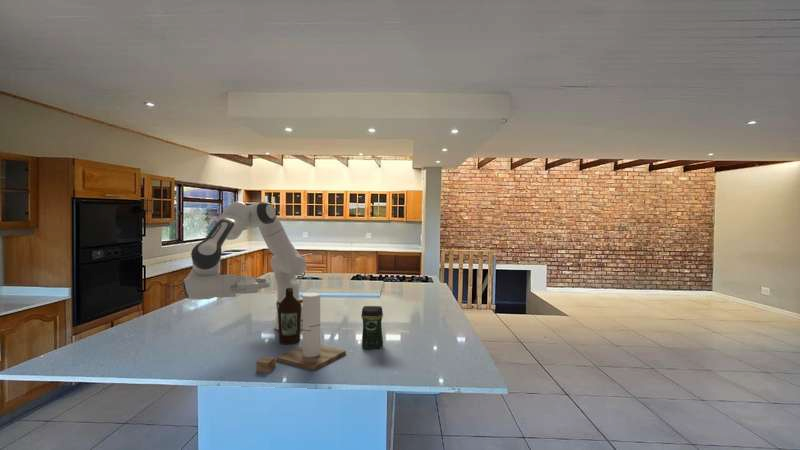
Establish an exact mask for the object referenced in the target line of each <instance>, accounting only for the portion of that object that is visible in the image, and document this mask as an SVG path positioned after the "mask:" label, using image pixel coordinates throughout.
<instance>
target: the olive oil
mask: <svg viewBox="0 0 800 450" xmlns="http://www.w3.org/2000/svg"><path fill="white" fill-rule="evenodd" d="M301 305H302V304H301ZM301 305H300V303H299V302H298V301H297V300H296V299H295V298H294V297H293V288H286V297H285V298H284V299H283V300H282V301H281V303H280V304H279V306H278V323H279V330H278V340H279V341H278V342H279V343H280V345H294V344H297V343H299V342H300V341H301V330H300V324H301Z"/></svg>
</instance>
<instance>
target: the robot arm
mask: <svg viewBox="0 0 800 450" xmlns="http://www.w3.org/2000/svg"><path fill="white" fill-rule="evenodd" d="M255 228H258V229H259V231H260V234H261V236H262V239H263V241H264V242H265V244H266V247H267V249H268V250H269V251H270V252H271V253H272V254H273V255H272V257H271V258H270V260H269V261H270V262H269V264H270V267H271V269H272V270H273V273H274V278H275V283H276V292H277V293H276V294H277V295H276V296H277V300H276V316H275V323H274V328H273V329H274V330H276V331H279V323H278V306H279V304H280V303H281V301H282V300H283V299H284V298H285V297H286V288H293V297H294V298H295V299H296V300H297V301H298V302H299V303H300V305H301V324H300V331H301V330H303V298H301V299H300V285H299V283H298V281H297V278H296V276H300V275H302V274H304V273H305V272H306V270H307V267H308V265H307V264H308V263H307V261H306V259H305V258H304V257H303V256H302V255H301V254H300V252H298V250H297V249H296V248H295V246H294V245H293V243H292V242H291V240H290V239H289V237H288V234H287V232H286V230H285V229H284V226H283V224H282V222H281V221H280V219H279V217H278V216H277V211H276V209H275V206H274V205H273V204H272V203H270V202H269V201H261V202H260V201H259V202H258V203H252V204H246V203H244V202H242V201H234V202H231V203H230V204H228V206H227V207H226V208H225V210H224V211H223V212H222V213H221V215H220V216H219V217H218V220H217V221H216V223H215V224H214V226H213V228H212V229H211V230H210V232H209V233H208V234H207V236H206V237H205V238H204V239H203V240H202V241H200V242H199V243H197V244H196V245H195V246H194V247H193V248H192V250H191V252H190V256H191V262H192V268H191V270H190V272H189V273H188V275H187V276H185V277H186V278H184V279H183V280H182V290H183V294H184V297H185V298H187V299H188V300H194V301H195V300H196V301H199V300H201V301H202V300H203V301H204V300H211V299H214V298H219V299H222V298H223V299H224V298H226V299H227V298H234V297H236V295H237V294H238V295H239V294H240V295H241V294H243V295H244V294H255V293H256V294H257V293H259V290H262V289H265V288H270V287H271V285H270V284H271V283H270V282H268V281H267V280H266V278H254V276H253V275H236V274H235V273H232V274H231V273H230V274H221V273H220V272H221V258H222V246H223V244H224V243H225V241H226V240H228V241H232V240H236V239H237V240H238V238H239V237H240V236H241V234H242V233H243V232H244V231H245V230H249V229H255Z"/></svg>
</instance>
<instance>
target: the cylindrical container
mask: <svg viewBox="0 0 800 450" xmlns="http://www.w3.org/2000/svg"><path fill="white" fill-rule="evenodd" d="M302 299H303V303H302V306H303V329H302V346H303V356H305V357H315V356H318V355H320V345H321V293H318V292H306V293H303V294H302Z"/></svg>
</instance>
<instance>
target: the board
mask: <svg viewBox="0 0 800 450" xmlns="http://www.w3.org/2000/svg"><path fill="white" fill-rule="evenodd" d="M346 351H347V350H344V349H341V348H336V347H332V346H331V347H330V346H326V345H321V344H320V355H318V356H315V357H305V356H303V345H302V346H299V347H297V348H294V349H293V350H290V351H288V352H286V353H283V354H281V355H279V356H276V362H279V363H283V364H286V365H290V366H294V367H298V368H302V369H306V370H307V371H308V370H309V371H313V372H315V371H317V370H319V369H320V368H322V367H324V366H326V365H328V364H330V363H332V362H334V361H335V360H338V359H339V358H341V357H343V356H345V355H346V354H347V352H346Z"/></svg>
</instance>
